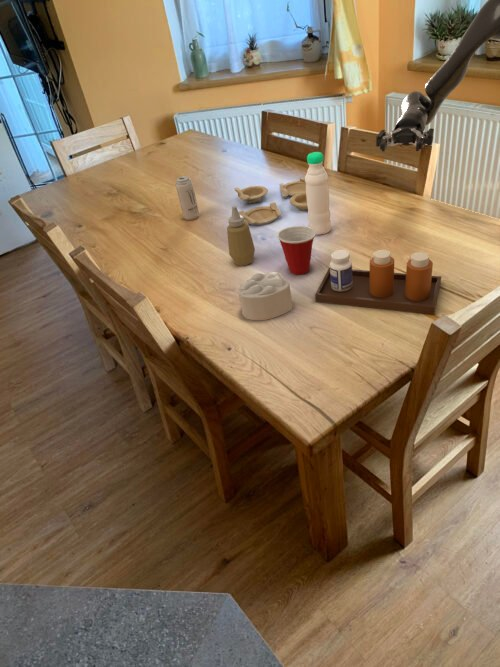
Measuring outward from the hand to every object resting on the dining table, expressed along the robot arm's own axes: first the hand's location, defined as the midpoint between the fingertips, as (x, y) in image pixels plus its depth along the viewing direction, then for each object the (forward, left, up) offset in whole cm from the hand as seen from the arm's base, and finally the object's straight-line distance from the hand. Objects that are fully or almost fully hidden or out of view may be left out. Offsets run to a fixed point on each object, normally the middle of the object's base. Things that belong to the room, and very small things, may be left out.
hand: (400, 147), depth 126 cm
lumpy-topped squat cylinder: (+28, +34, -30) cm, 53 cm away
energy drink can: (+77, -15, -30) cm, 84 cm away
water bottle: (+26, -10, -30) cm, 41 cm away
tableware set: (+47, -29, -30) cm, 63 cm away
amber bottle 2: (-9, +22, -29) cm, 38 cm away
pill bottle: (+10, +22, -29) cm, 38 cm away
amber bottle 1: (0, +22, -29) cm, 37 cm away
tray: (+1, +22, -30) cm, 37 cm away
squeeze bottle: (+44, +12, -30) cm, 55 cm away
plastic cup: (+25, +14, -30) cm, 42 cm away
